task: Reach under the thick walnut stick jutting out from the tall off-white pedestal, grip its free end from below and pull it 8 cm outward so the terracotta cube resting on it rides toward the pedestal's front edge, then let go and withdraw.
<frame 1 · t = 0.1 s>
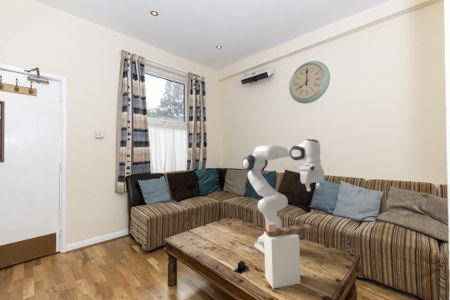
hand: (313, 189, 125), 48 cm above the table, tool pointing down, fingers open, 8 cm apart
walnut strip: (289, 232, 118), point 26 cm above the table, touching pedestal, terracotta cube
black angular part: (241, 270, 129), on the table
pedestal: (282, 280, 117), on the table
terracotta cube: (270, 230, 115), point 28 cm above the table, touching walnut strip
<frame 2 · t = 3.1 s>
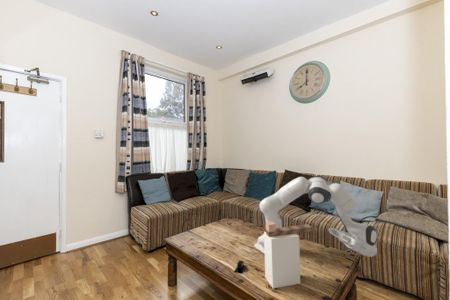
hand: (335, 232, 124), 22 cm above the table, tool pointing upward, fingers open, 8 cm apart
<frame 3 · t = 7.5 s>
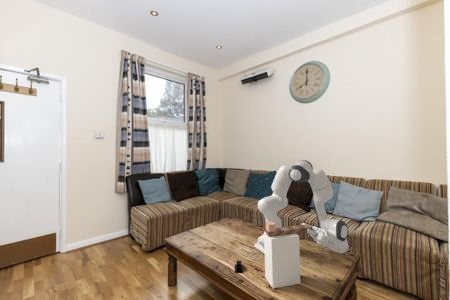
hand: (304, 227, 120), 28 cm above the table, tool pointing upward, fingers closed on walnut strip, 4 cm apart
walnut strip: (289, 232, 118), point 26 cm above the table, touching gripper, pedestal, terracotta cube
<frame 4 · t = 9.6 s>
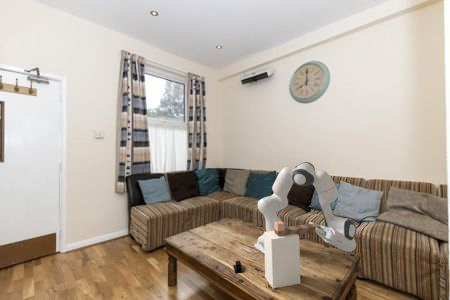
hand: (312, 226, 120), 28 cm above the table, tool pointing upward, fingers closed on walnut strip, 4 cm apart
walnut strip: (297, 231, 118), point 26 cm above the table, touching gripper, pedestal, terracotta cube
terracotta cube: (279, 229, 116), point 29 cm above the table, touching walnut strip
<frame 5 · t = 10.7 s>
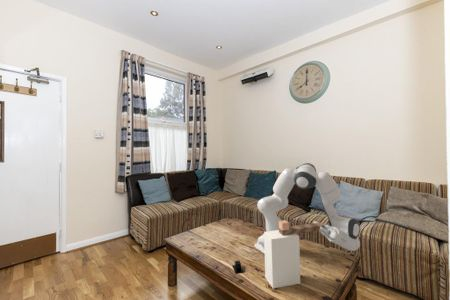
hand: (316, 225, 121), 28 cm above the table, tool pointing upward, fingers closed on walnut strip, 4 cm apart
walnut strip: (301, 230, 119), point 26 cm above the table, touching gripper, pedestal, terracotta cube
terracotta cube: (284, 229, 117), point 29 cm above the table, touching walnut strip
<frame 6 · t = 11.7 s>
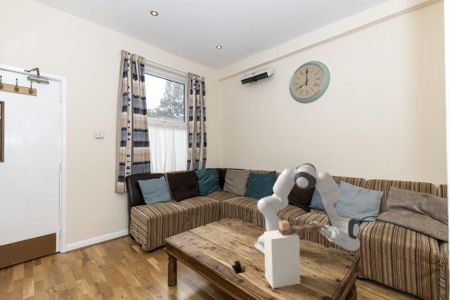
hand: (316, 225, 121), 28 cm above the table, tool pointing upward, fingers open, 8 cm apart
walnut strip: (301, 231, 119), point 26 cm above the table, touching pedestal, terracotta cube
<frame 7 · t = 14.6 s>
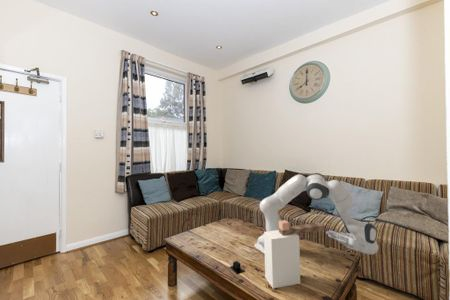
hand: (332, 234, 124), 21 cm above the table, tool pointing upward, fingers open, 8 cm apart
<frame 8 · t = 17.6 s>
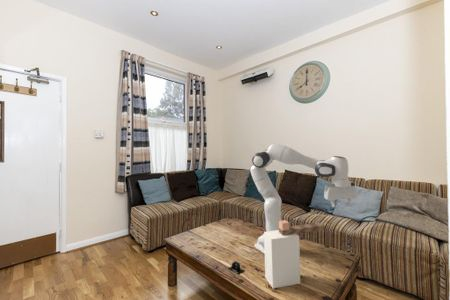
hand: (340, 206, 126), 37 cm above the table, tool pointing down, fingers open, 8 cm apart
at the end: terracotta cube moved 7.8 cm from its start; terracotta cube point 28.5 cm above the table; walnut strip point 26.0 cm above the table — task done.
